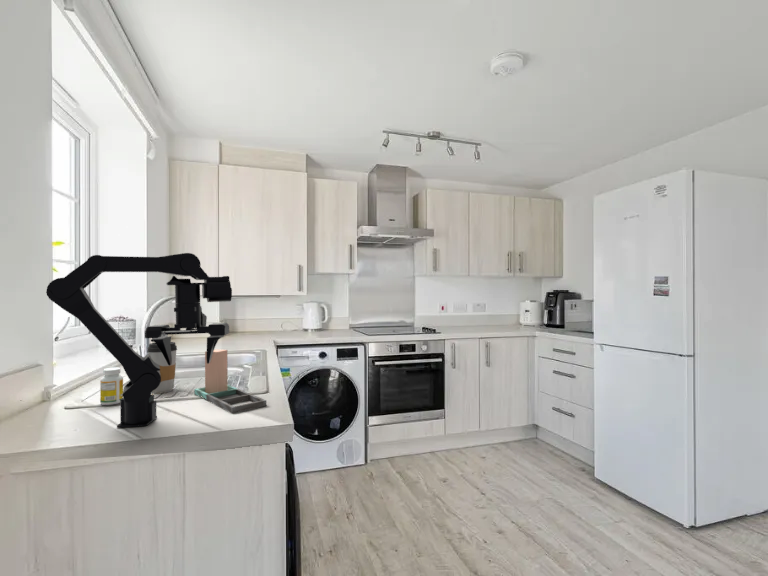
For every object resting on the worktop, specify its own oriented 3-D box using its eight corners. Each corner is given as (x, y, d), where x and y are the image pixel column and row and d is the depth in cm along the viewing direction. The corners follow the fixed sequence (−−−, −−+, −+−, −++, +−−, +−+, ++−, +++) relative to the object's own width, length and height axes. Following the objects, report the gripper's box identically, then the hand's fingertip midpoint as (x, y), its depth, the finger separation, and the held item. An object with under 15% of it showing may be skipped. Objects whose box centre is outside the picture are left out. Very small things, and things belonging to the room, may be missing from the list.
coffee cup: (140, 393, 124) (140, 344, 124) (161, 386, 132) (161, 341, 132) (163, 394, 122) (163, 345, 122) (183, 388, 130) (183, 341, 130)
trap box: (266, 405, 110) (266, 400, 110) (232, 413, 103) (232, 407, 103) (225, 388, 130) (225, 383, 130) (194, 393, 123) (194, 388, 123)
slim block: (217, 395, 120) (217, 352, 120) (205, 394, 121) (205, 351, 121) (227, 391, 124) (227, 349, 124) (215, 390, 126) (215, 349, 126)
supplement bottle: (107, 406, 110) (107, 371, 110) (95, 404, 112) (95, 369, 112) (127, 401, 115) (127, 367, 115) (115, 399, 117) (115, 366, 117)
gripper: (233, 300, 111) (234, 356, 112) (160, 302, 108) (162, 360, 109) (223, 302, 100) (225, 364, 101) (143, 304, 97) (144, 368, 98)
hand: (189, 364), depth 102 cm, fingers open, 9 cm apart
